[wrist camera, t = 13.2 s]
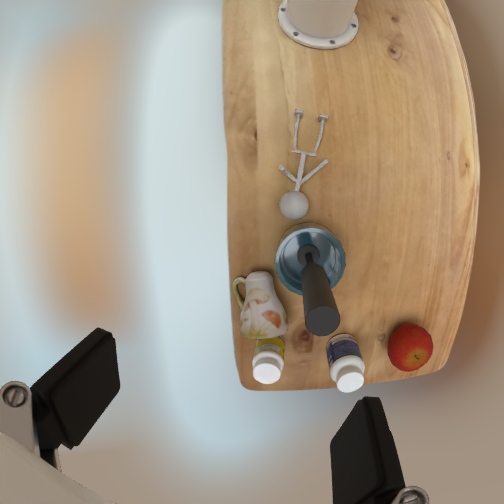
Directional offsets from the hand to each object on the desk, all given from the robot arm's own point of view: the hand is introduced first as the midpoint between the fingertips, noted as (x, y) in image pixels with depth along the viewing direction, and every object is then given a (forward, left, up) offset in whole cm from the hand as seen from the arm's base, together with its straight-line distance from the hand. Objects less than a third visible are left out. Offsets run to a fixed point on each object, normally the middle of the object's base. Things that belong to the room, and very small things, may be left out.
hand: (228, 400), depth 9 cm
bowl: (-1, +6, -32) cm, 33 cm away
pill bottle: (+6, +22, -32) cm, 39 cm away
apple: (-3, +29, -32) cm, 43 cm away
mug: (+9, +6, -32) cm, 34 cm away
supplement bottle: (+14, +13, -32) cm, 37 cm away
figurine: (-10, -4, -32) cm, 34 cm away
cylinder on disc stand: (-1, +6, -32) cm, 32 cm away
